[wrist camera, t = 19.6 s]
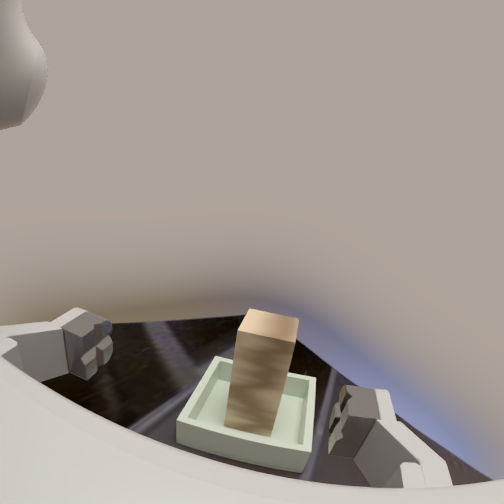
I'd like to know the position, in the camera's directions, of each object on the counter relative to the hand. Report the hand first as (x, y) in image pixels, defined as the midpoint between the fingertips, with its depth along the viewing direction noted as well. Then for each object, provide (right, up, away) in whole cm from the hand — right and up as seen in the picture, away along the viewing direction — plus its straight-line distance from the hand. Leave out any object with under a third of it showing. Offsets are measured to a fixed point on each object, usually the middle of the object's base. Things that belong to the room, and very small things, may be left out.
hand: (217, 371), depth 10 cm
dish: (+1, -15, +22) cm, 27 cm away
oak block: (+1, -14, +22) cm, 26 cm away
